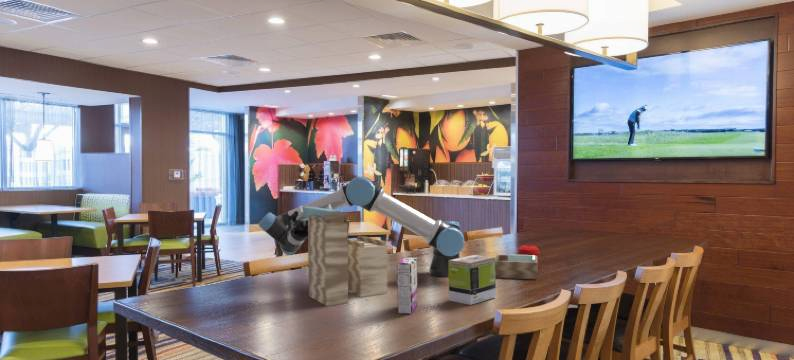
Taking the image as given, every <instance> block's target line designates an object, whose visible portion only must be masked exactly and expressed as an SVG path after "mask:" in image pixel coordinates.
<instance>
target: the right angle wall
mask: <svg viewBox="0 0 794 360" xmlns="http://www.w3.org/2000/svg"><path fill="white" fill-rule="evenodd" d="M507 255H508V261H516V262H535V255H519V254H507Z"/></svg>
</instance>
